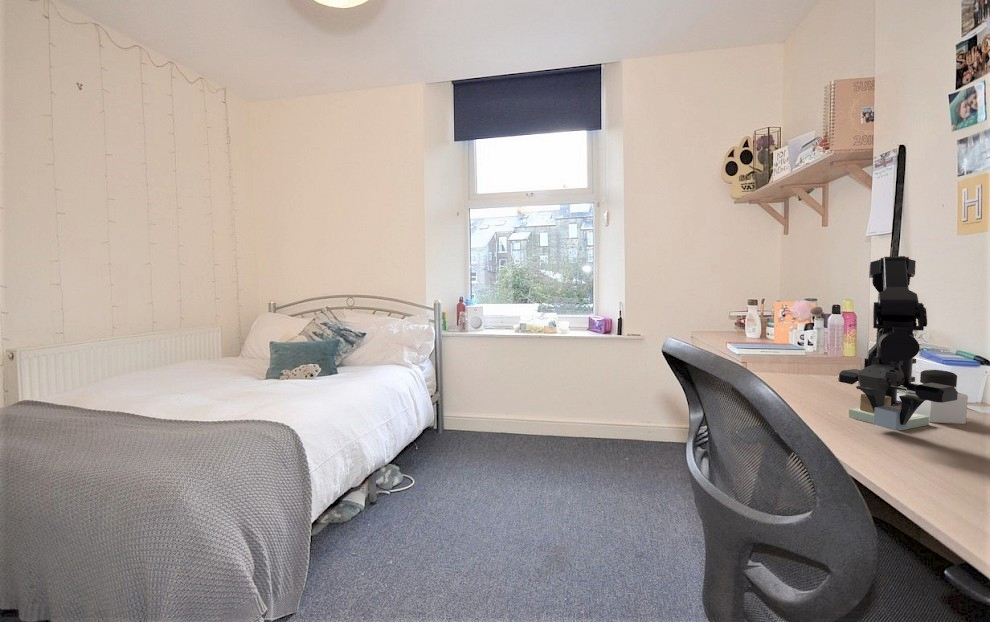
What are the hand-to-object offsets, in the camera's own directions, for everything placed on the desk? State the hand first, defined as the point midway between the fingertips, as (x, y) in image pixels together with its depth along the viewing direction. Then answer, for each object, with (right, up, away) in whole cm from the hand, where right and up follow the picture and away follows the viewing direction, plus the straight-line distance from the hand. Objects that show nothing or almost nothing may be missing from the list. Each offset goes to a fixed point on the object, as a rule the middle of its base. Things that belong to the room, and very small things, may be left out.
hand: (890, 421), depth 91 cm
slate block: (0, -1, 0) cm, 1 cm away
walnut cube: (+4, 0, +8) cm, 9 cm away
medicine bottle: (+19, -2, +8) cm, 21 cm away
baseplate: (+7, -2, +8) cm, 10 cm away
